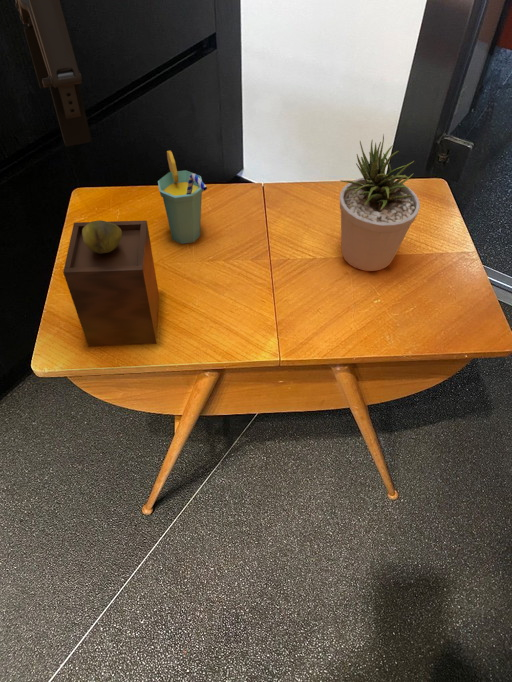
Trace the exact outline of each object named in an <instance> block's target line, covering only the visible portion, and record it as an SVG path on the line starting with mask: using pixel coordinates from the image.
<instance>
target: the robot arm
mask: <svg viewBox="0 0 512 682" xmlns="http://www.w3.org/2000/svg"><path fill="white" fill-rule="evenodd" d="M14 5H15V9H16V10H17V11H18V13H19V19H20V21H21V22H22V24H23V25H27V26H22V27H23V31H24V35H25V38H26V42H27V47H28V49H29V50H28V51H29V53H30V57H31V60H32V63H33V68H34V70H35V75H36V79H37V82H38V86H39V89H40V90H43V89H48V88H49V90H50V94H51V98H52V103H53V106H54V110H55V114H56V117H57V120H58V125H59V128H60V132H61V136H62V140H63V143H64V146H65V147H72V146H76V145H77V146H78V145H82V144H88V143H92V142H93V140H92V135H91V132H90V127H89V123H88V118H87V114H86V113H87V112H86V109H85V104H84V100H83V95H82V91H81V86H80V84H82V82H83V78H82V74H81V72H80V70H79V66H78V62H77V59H76V56H75V51H74V48H73V44H72V41H71V38H70V33H69V30H68V26H67V23H66V19H65V16H64V12H63V8H62V4H61V0H15V3H14Z"/></svg>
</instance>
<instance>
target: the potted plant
mask: <svg viewBox="0 0 512 682" xmlns="http://www.w3.org/2000/svg"><path fill="white" fill-rule="evenodd" d="M384 141H385V134H384V133H383V134H382V141H380V142H379V144H378V147H377V142H375V144H374V148H373V139H371V141H370V150H369V152H368V154H369V160H368V158H367V156H366V154H365V152H364V148H363V145H362V142H361V140H359V146H360V150H361V154H362V156H360V157H359V155H358V153H356V159H357V162H356V163H355V164H356V166H357V168H358V171H359V172H360V174H361V176H362V177H360V178H357V179H354V180H341V179H340V182H342V183H347V184H346V185H344V186H343V187H342V189H341V191H340V193H339V209H340V246H341V254H342V255H341V256H342V258H343V259H344V260H345V262H346V263H347V264H349V265H350V266H352V267H354V268H355V269H358V270H360V271H366V272H376V271H380V270H383V269H385V268H387V267H388V266H390V264H391V263H392V262H393V260H394V258H395V257H396V255H397V252H398V251H399V249H400V247H401V246H402V245H401V244H402V243H403V241H404V239H405V237H406V235H407V233H408V232H409V229H410V227H411V225H412V224H413V223H414V222H415V220H416V219H417V216H418V215H419V212H420V209H421V203H420V199H419V198H418V196H417V194H416V193H415V191H413V190H412V189H411V188H410V187H409V186H408V185H405V182H407V181H408V180H409V179H410V178H411V177H413V175H415V174H414V173H412V174H410V175H409V176H407V174H402V173H403V172H404V171H405V170H406V169H407V168H408V167H409V166H410V165H411V164H413V163H414V162H415V160H413V161H411V162H409V163H407V164H405V165H402V166H398V167H397V168H394V169H392V167H391V164H390V161H391V160H392V158H393V156H395V155H396V154H398V153H399V152H400V150H397V151H395V152H393V153H392V154H391V155H390V156H388V155H389V152H390V151H391V149H393V146H394V144H392V145H391V146H390V147H389V148H388V149H387V150H386V152H385V153H384V152H383V149H384V143H385V142H384ZM387 156H388V158H387ZM386 168H388V172H387V173H386ZM398 170H399V171H398ZM397 171H398V172H397ZM395 172H397V173H396V174H395V175H394V173H395ZM392 174H393V175H392ZM401 174H402V175H401Z"/></svg>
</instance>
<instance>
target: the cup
mask: <svg viewBox="0 0 512 682" xmlns="http://www.w3.org/2000/svg"><path fill="white" fill-rule="evenodd" d="M166 158H167V162H168V168H169V171H168V172H167V173H166V174H165V175H163V176H162V177H161V178H159V180H157V185H158V190H159V194H160V197H161V198H162V200H163V205H164V209H165V213H166V218H167V222H168V226H169V230H170V235H171V240H172V241H174V242H176V243H178V244H181V245H185V244H191V243H194V242H196V241H197V240H198V239H199V238H201V225H202V223H201V221H202V220H201V219H202V200H203V199H202V198H203V197H202V195H203V193H204V192H205V191H207V189H208V187H207V185H206V184H205V183H204V182H203V179H202V176H201V175H199V174H197V173H194V172H191V171H188V170H178V169H177V165H176V164H177V163H176V160H175V157H174V155H173V152H172V150H167V151H166Z"/></svg>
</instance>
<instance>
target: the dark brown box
mask: <svg viewBox="0 0 512 682" xmlns="http://www.w3.org/2000/svg"><path fill="white" fill-rule="evenodd" d="M90 222H91V221H83V222H82V221H81V222H80V221H79V222H78V221H77V222H76V221H75V222H73V224H72V230H71V233H70V234H71V235H70V239H69V244H68V248H67V253H66V258H65V262H64V266H63V277H64V279H65V282H66V284H67V288H68V291H69V294H70V297H71V300H72V303H73V305H74V309H75V312H76V314H77V317H78V320H79V324H80V326H81V330H82V332H83V335H84V338H85V341H86V344H87V346H88V348H89V347H111V346H112V347H115V346H137V345H156V344H157V340H158V323H159V306H160V305H159V304H160V303H159V302H160V293H159V287H158V281H157V280H158V279H157V276H156V268H155V263H154V255H153V250H152V244H151V238H150V231H149V226H148V220H116V221H115V220H114V221H108V222H109V223H113V224H115V225H117V226H118V227H119V228H120V229H121V231H122V237H121V240H120V243H119V245H118V246H117V247H116V248H115V249H114V250H112V251H111V252H109V253H103V254H99V253H96V252H94V251H92V250H90V249H89V248H88V246H87V245H86V244H85V243H84V240H83V236H82V229H83V228H84V227H85V226H86V225H87V224H89V223H90Z"/></svg>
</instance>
